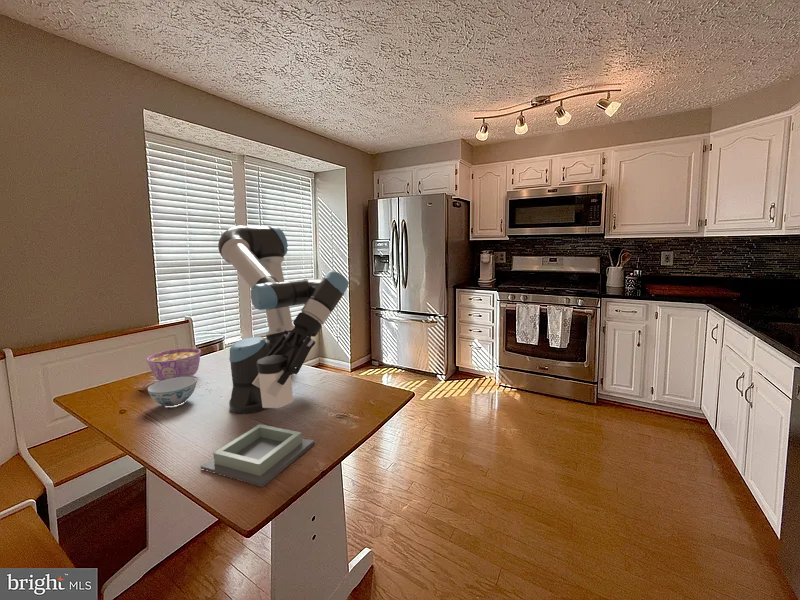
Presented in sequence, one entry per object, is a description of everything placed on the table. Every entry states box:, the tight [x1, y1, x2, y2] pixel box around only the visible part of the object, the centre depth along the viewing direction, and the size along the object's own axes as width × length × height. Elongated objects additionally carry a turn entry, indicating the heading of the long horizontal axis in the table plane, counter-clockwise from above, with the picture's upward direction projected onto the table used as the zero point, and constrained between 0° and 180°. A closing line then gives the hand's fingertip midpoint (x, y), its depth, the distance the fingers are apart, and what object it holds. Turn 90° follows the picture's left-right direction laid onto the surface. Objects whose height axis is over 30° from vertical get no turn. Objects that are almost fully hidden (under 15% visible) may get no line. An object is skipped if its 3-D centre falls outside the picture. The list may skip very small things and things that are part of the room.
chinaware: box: [147, 376, 197, 406], centre depth 134 cm, size 15×15×8 cm
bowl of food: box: [146, 347, 202, 382], centre depth 158 cm, size 20×20×12 cm
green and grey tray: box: [200, 423, 315, 488], centre depth 98 cm, size 20×20×4 cm
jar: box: [257, 355, 294, 409], centre depth 98 cm, size 9×8×12 cm
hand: (263, 390), depth 97 cm, fingers closed on jar, 8 cm apart
